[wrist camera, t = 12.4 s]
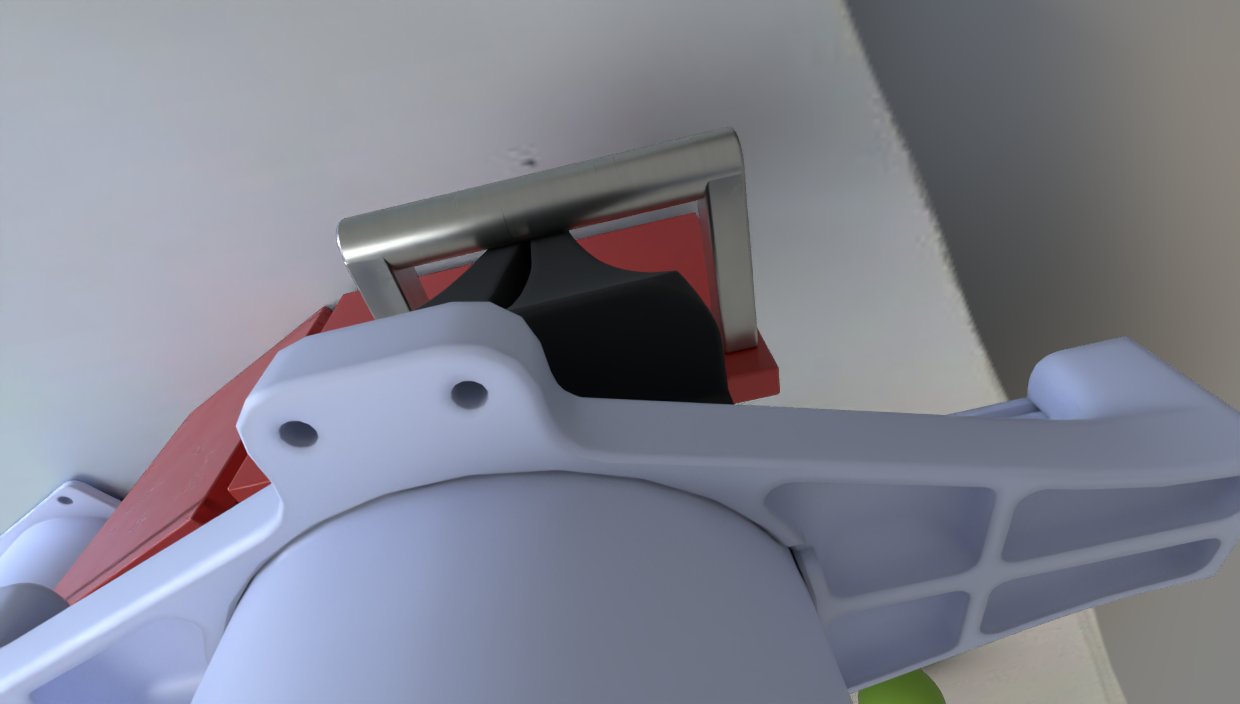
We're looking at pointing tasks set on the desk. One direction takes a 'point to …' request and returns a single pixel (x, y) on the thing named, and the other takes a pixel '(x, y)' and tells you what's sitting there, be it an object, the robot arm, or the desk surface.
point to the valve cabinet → (178, 483)
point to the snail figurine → (903, 690)
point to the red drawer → (566, 201)
